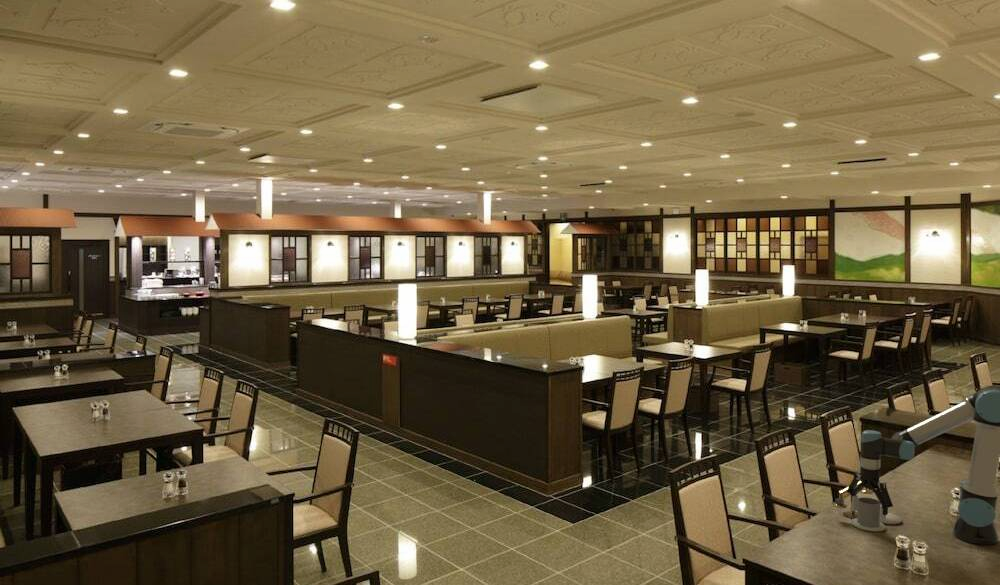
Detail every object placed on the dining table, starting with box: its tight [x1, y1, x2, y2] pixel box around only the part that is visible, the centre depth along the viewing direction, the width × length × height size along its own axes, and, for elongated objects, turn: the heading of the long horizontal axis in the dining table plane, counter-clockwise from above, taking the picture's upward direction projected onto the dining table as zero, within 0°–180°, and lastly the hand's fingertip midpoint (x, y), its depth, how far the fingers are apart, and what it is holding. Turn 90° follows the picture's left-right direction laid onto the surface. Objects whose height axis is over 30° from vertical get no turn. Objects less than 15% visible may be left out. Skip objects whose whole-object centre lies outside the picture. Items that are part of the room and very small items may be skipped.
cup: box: [856, 496, 881, 528], centre depth 291 cm, size 8×8×10 cm
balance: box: [832, 480, 875, 520], centre depth 302 cm, size 22×6×16 cm, turn 113°
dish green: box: [850, 518, 886, 533], centre depth 291 cm, size 13×13×1 cm
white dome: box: [882, 512, 903, 525], centre depth 299 cm, size 13×13×1 cm
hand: (868, 516), depth 291 cm, fingers open, 13 cm apart
